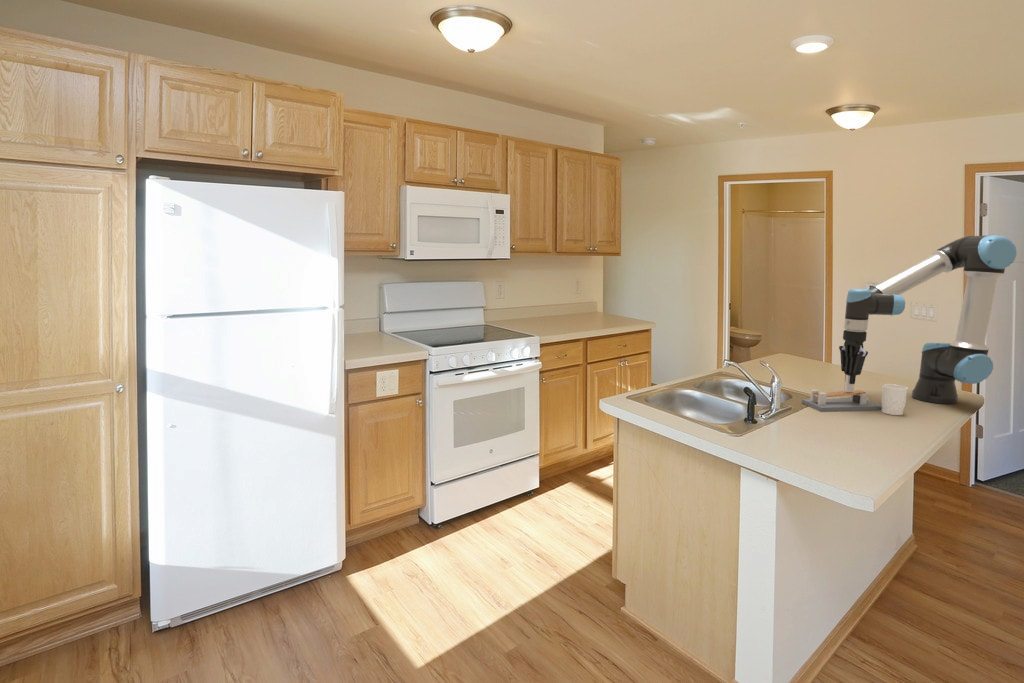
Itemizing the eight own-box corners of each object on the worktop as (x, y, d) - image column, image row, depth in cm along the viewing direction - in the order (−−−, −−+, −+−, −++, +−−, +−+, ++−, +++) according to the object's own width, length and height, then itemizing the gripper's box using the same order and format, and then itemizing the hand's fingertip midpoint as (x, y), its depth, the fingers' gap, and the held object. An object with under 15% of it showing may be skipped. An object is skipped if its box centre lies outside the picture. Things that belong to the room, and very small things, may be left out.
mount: (861, 401, 228) (863, 386, 227) (883, 410, 216) (885, 394, 215) (801, 402, 225) (803, 387, 224) (821, 411, 214) (822, 395, 213)
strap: (859, 392, 222) (860, 389, 222) (865, 394, 219) (865, 391, 219) (813, 396, 221) (813, 393, 220) (818, 398, 218) (818, 395, 217)
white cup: (908, 416, 208) (912, 389, 207) (884, 415, 210) (887, 388, 208) (899, 410, 216) (902, 384, 214) (875, 409, 217) (878, 383, 216)
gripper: (834, 327, 222) (828, 387, 226) (857, 333, 210) (851, 396, 213) (852, 327, 223) (846, 387, 227) (877, 332, 210) (870, 395, 214)
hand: (848, 391), depth 220 cm, fingers closed
